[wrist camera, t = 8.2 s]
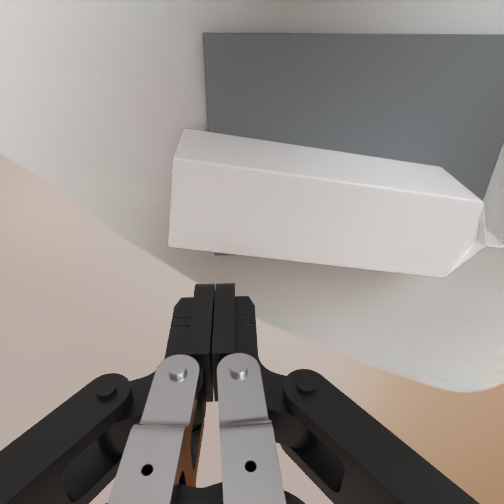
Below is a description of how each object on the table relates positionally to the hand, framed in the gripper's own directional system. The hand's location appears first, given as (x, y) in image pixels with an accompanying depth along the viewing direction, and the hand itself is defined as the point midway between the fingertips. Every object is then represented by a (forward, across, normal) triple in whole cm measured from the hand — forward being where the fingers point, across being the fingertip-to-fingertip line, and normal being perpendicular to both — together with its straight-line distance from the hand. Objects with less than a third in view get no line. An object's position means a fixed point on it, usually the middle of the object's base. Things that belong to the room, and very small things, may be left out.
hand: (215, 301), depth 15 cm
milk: (+12, +3, 0) cm, 13 cm away
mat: (+16, -10, 0) cm, 19 cm away
